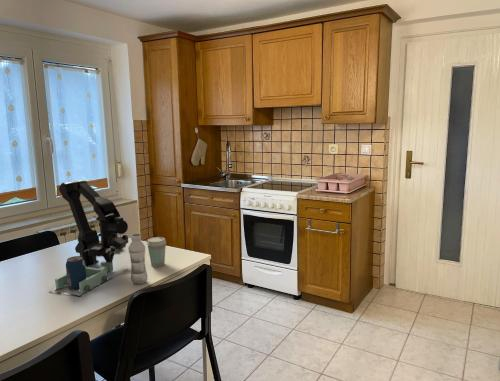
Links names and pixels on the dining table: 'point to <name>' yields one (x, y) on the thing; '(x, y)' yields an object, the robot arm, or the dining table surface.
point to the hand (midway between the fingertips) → (110, 264)
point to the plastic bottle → (137, 260)
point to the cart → (88, 277)
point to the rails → (90, 289)
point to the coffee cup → (157, 251)
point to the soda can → (75, 271)
